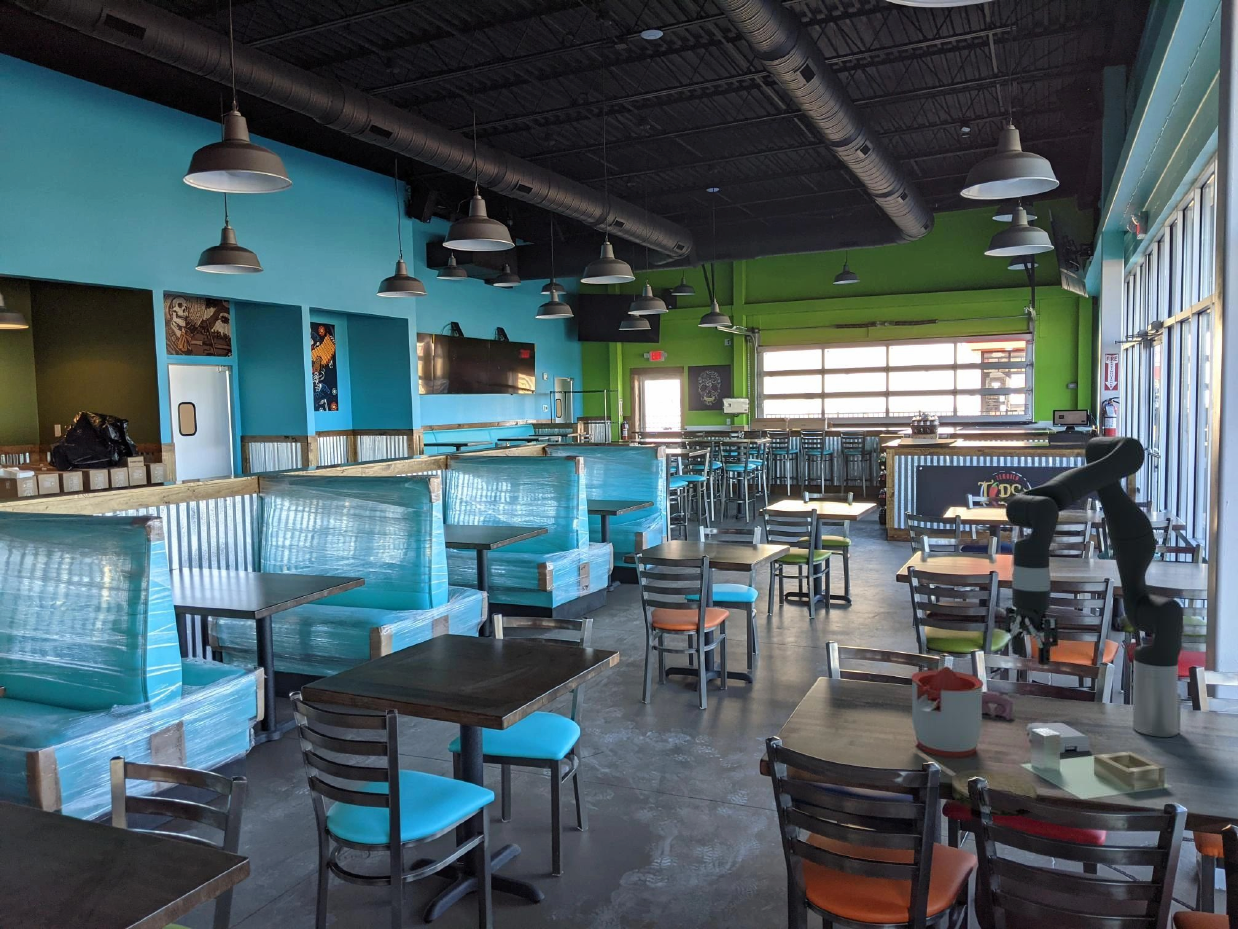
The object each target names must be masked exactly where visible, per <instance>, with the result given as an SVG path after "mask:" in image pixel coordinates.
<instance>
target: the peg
mask: <svg viewBox="0 0 1238 929" xmlns="http://www.w3.org/2000/svg"><path fill="white" fill-rule="evenodd" d="M1030 743H1031V744H1030V761H1031V762H1030V763H1031V766H1033V767H1035V768H1037V769H1038V770H1040V771H1042V772H1044V773H1045V772H1053V771H1060V760H1061V753H1060V734H1059V733H1057V732H1055V731H1053V730H1051V729H1048V728H1041V729H1032V730H1031V740H1030Z"/></svg>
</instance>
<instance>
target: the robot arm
mask: <svg viewBox="0 0 1238 929" xmlns="http://www.w3.org/2000/svg"><path fill="white" fill-rule="evenodd" d="M1145 456H1146V453H1145V449H1144V446H1143V444H1142V442H1141V441H1140V440H1139V439H1137V438H1134V437H1132V436H1130V437H1129V436H1097V437H1092V438H1091V439H1089V440H1088V442H1087V443H1086V445H1085V450H1084V457H1085V464H1084V465H1082V466H1079V467H1074V468H1072V469H1069V470H1066V471H1063V472H1062V473H1059V474H1057V475H1056V476H1055V477H1053V478H1052V479H1050V480H1048V481H1047V482H1046V483H1044V484H1042V485H1039V486H1036V487H1033V488H1030V489H1027V490H1024V491H1021V492H1019V493H1017V494H1015V495H1014V496H1013V497H1012V498H1010V500H1009V501H1008V502H1007V504H1006V507H1005V516H1006V518H1007V521H1009V523H1010V524H1012V525H1013V526H1016V527H1019V528H1029V529H1032V531H1031V534H1030V536H1028V537H1023V538H1019V539H1017V540H1016V541H1015V542H1014V546H1013V571H1012V584H1011V585H1012V588H1011V590H1012V592H1011V594H1012V595H1011V598H1012V599H1011V604H1012V606H1007V607H1006V608H1005V618H1004V619H1005V625H1004V631H1005V633H1006V634H1009V636H1010V637H1011V644H1012V645H1011V651H1012V654H1013V655H1015V656H1019V655H1023V654H1024V638H1023V636H1024V634H1026V632H1027V633H1029V634H1031V636H1032V638H1033V639H1035V640H1036V643H1037V645H1038V653H1037V663H1038V664H1039V665H1042V666H1045V665H1049V664H1050V661H1051V648H1052V647H1053V648H1054V647H1058V646H1059V634H1058V633H1059V632H1058V631H1059V626H1058V619H1057V618H1055V617H1053V618H1048V617H1047V611H1048V610H1049V609H1051V574H1050V548H1051V545H1052V541H1053V538H1054V535H1055V532H1056V528H1057V525H1058V522H1059V517H1060V512H1064V511H1065V510H1067V509H1068V508H1070V507H1071V506H1073V505H1074V504H1076V503H1077V502H1078V501H1081V499H1083V498H1085V497H1087V496H1088V495H1091V493H1092V494H1093V493H1094V492H1096V495H1097V497H1098V500H1099V503H1100V506H1101V509H1102V513H1103V517H1104V520H1105V524H1106V528H1107V532H1108V536H1109V542H1110V545H1111V548H1112V551H1113V555H1114V558H1115V563H1116V566H1117V570H1118V574H1119V579H1120V585H1121V591H1122V592H1121V593H1122V598H1123V600H1122V601H1123V605H1124V611H1125V612H1124V613H1125V617H1126V619H1127V621H1128V623H1129V625H1130V627H1132V628H1133V629H1135V630H1137V631H1139V632H1144V633H1148V634H1153V635H1154V637H1153V641H1152V642H1153V643H1151V644H1144V645H1140V646H1136V647H1135V648H1134V649H1133V682H1132V683H1133V684H1132V686H1133V688H1132V689H1133V690H1132V691H1133V692H1132V694H1133V695H1132V728H1133V730H1134V731H1137V732H1138V733H1141V734H1145V735H1147V736H1152V737H1157V738H1158V737H1161V738H1170V737H1171V738H1172V737H1175V736H1177V735H1178V734H1180V733H1181V718H1182V717H1181V714H1182V713H1181V710H1182V709H1181V707H1182V705H1181V704H1182V696H1181V694H1180V693H1179V692H1178V691H1179V690H1178V689H1179V688H1178V687H1179V686H1178V682H1179V680H1178V679H1179V657H1180V654H1181V650H1182V639H1183V628H1184V612H1183V608H1182V605H1181V604H1180V602H1179V601H1177V600H1176V599H1173V598H1169V597H1164V596H1158V595H1153V594H1150V593H1149V590H1148V587H1147V582H1146V574H1147V571H1148V569H1149V567H1150V565H1151V563H1152V561H1153V559H1154V558H1155V554H1156V551H1157V541H1156V537H1155V533H1154V528H1153V526H1152V523H1151V521H1150V518H1149V517H1148V516H1147V514H1146V513H1145V512H1144V511H1143V509H1142V508H1141V507H1140V506H1139V505H1138V504H1137V503H1136V502H1135V501H1134V500H1133V499H1132V498H1131V497H1130V496H1129V495H1128V494H1127V492H1126V491H1125V490H1124V488H1123V485H1122V484H1121V482H1120V480H1122V479H1125V478H1127V477H1130V476H1132V475H1135V474H1136V473H1138V472H1139V471H1140V470H1141V468H1142V467H1143V465H1144V463H1145ZM1011 623H1012V624H1011ZM1011 625H1012V626H1011Z"/></svg>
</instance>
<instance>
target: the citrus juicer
mask: <svg viewBox="0 0 1238 929" xmlns="http://www.w3.org/2000/svg"><path fill="white" fill-rule="evenodd" d="M910 679H911V682H912V686H911V687H912V689H911V690H912V692H911V693H912V696H911V697H912V701H911V702H912V703H911V704H912V706H911V708H912V710H911V713H912V714H911V715H912V724H913V730H914V734H915V737H916V741H917V744H918V747H919V748H920V749H921V750H922V751H924V752H926V753H928V754H932V755H934V756H940V757H945V758H946V757H947V758H964V757H968V756H971V755H973V754H974V753H975V751H976V749H977V747H978V742H979V740H980V735H981V729H982V720H983V719H982V718H983V716H982V714H983V712H982V692H983V686H984V682H983V680H982V679H980V678H978V677H977V676H975V675H971V674H969V673H965V672H960V671H954V670H953V669H952V668H950V667H949V666H943V668H941V669H932V670H930V669H927V670H921V671H917V672H915V673H913V674H912V675H911V677H910Z"/></svg>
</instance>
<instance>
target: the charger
mask: <svg viewBox="0 0 1238 929" xmlns="http://www.w3.org/2000/svg"><path fill="white" fill-rule="evenodd" d="M1025 728H1026V730H1027V731H1028V733H1029V734H1028V740H1029V741H1031V730H1032V729H1041V728H1048V729H1051V730H1053V731H1055V732H1057V733H1059V734H1060V754H1062V753H1065V752H1066V750H1075V751H1076V752H1089V751H1090V742H1091V741H1090V737H1089V736H1087V735H1085V734H1083V733H1081V732H1079V731H1078V730H1076V729H1074V728H1072V727H1070V726H1068V725H1067V724H1065V723H1062V722H1051V723H1049V722H1048V723H1043V722H1033V723H1027V726H1026V727H1025Z"/></svg>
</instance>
